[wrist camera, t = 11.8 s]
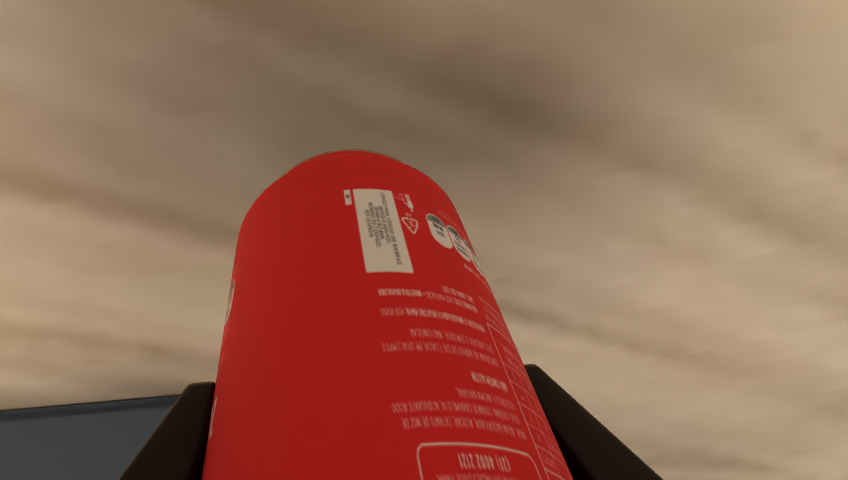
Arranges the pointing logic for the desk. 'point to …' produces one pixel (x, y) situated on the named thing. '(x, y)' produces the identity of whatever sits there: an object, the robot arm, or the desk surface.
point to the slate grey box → (77, 439)
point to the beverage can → (368, 340)
